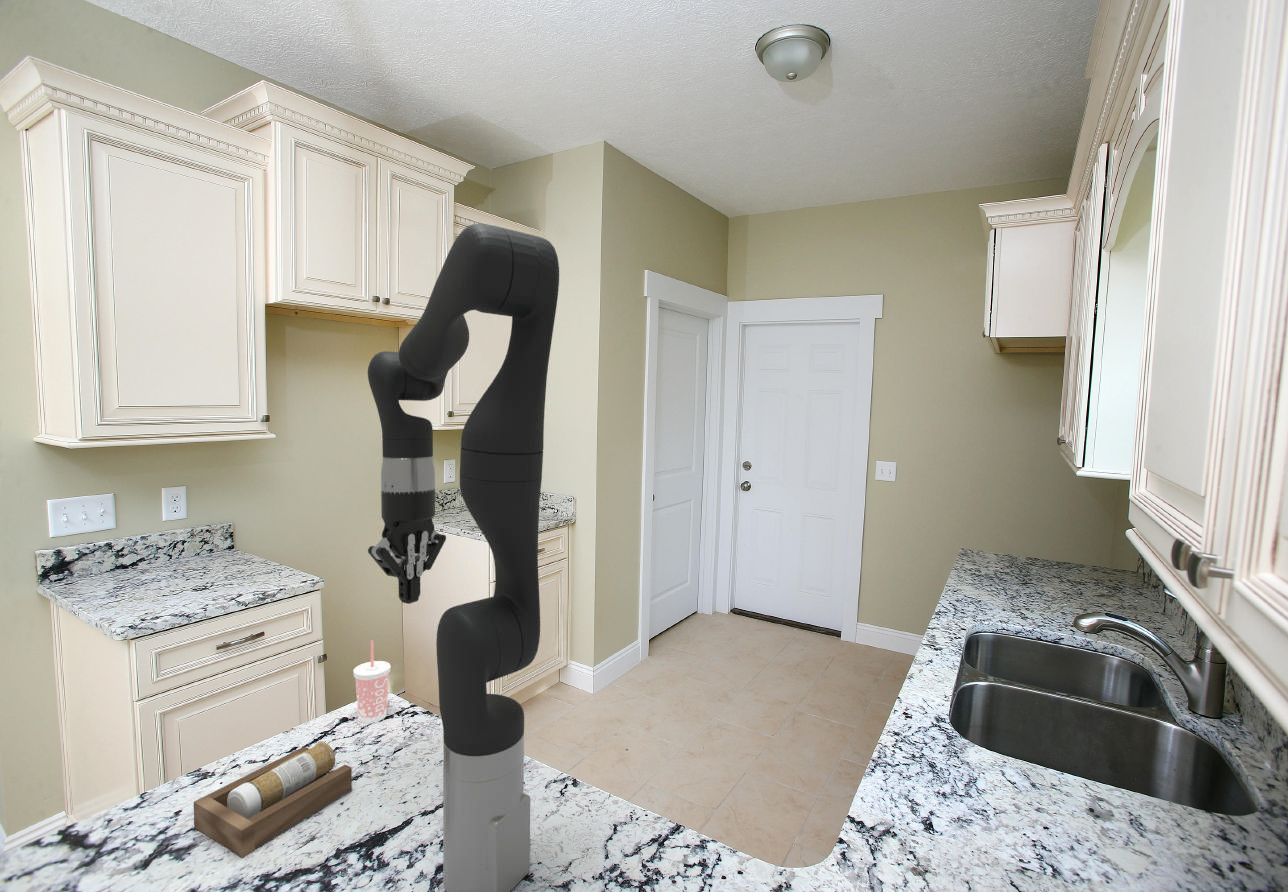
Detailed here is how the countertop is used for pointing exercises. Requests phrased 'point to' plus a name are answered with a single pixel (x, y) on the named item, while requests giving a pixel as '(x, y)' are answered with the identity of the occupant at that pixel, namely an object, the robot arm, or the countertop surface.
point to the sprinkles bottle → (281, 781)
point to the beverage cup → (372, 689)
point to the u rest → (267, 809)
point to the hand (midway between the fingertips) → (409, 601)
